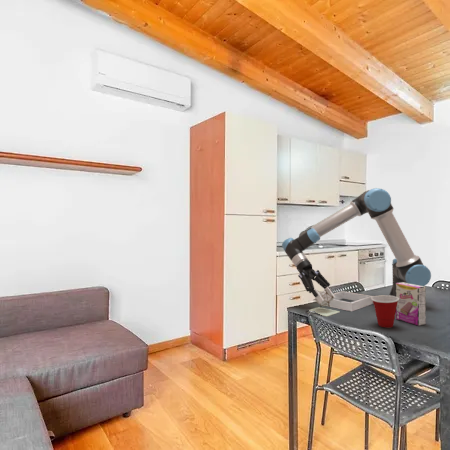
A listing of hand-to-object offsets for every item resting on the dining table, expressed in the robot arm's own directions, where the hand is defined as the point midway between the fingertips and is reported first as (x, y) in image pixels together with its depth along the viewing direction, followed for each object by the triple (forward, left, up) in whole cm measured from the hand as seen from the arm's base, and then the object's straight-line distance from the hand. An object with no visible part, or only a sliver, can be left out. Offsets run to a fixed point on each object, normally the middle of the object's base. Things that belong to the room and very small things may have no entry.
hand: (327, 300), depth 166 cm
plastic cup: (-27, -1, -6) cm, 28 cm away
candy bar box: (-32, -14, -6) cm, 36 cm away
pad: (+3, 0, -6) cm, 7 cm away
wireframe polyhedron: (+3, -1, -4) cm, 5 cm away
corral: (+3, -22, -6) cm, 24 cm away
